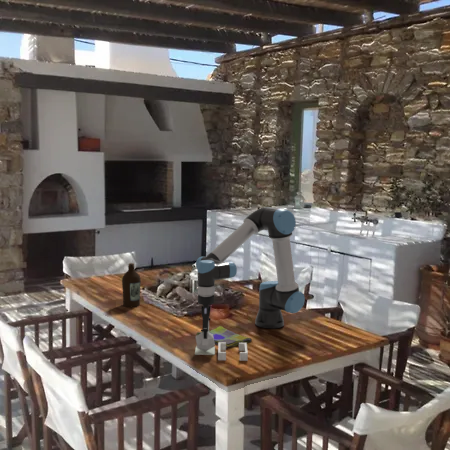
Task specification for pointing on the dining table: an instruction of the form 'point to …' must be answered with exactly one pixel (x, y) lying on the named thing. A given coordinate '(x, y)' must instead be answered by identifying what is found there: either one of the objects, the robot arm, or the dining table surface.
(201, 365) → the dining table surface
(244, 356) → the pocket
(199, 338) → the die
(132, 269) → the olive oil
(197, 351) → the mat
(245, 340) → the dish towel
